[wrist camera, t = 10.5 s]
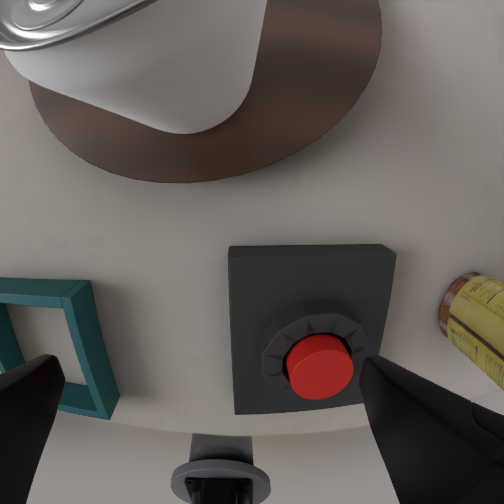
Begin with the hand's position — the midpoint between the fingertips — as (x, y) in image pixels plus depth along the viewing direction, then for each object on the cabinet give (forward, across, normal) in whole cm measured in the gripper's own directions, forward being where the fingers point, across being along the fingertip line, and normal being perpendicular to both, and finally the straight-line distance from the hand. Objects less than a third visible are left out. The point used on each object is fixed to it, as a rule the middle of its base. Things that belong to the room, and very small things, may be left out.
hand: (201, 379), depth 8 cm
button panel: (+12, -6, +5) cm, 14 cm away
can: (+9, +1, -10) cm, 14 cm away
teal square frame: (+12, +14, +7) cm, 20 cm away
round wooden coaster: (+12, +1, -16) cm, 20 cm away
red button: (+8, -5, +5) cm, 11 cm away
